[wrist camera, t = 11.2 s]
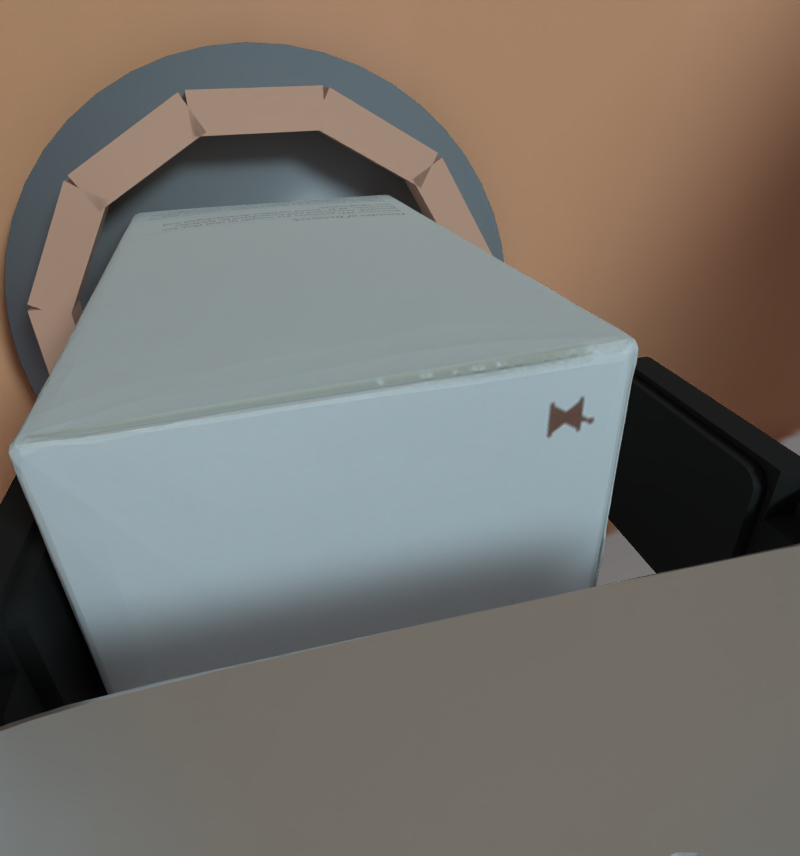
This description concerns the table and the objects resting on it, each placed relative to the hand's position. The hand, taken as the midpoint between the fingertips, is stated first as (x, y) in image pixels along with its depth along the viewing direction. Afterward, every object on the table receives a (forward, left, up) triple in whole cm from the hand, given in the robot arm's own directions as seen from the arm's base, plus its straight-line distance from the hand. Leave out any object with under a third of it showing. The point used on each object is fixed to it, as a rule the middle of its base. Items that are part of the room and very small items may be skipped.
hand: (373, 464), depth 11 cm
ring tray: (+1, 0, -10) cm, 10 cm away
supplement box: (+1, 0, -9) cm, 9 cm away
